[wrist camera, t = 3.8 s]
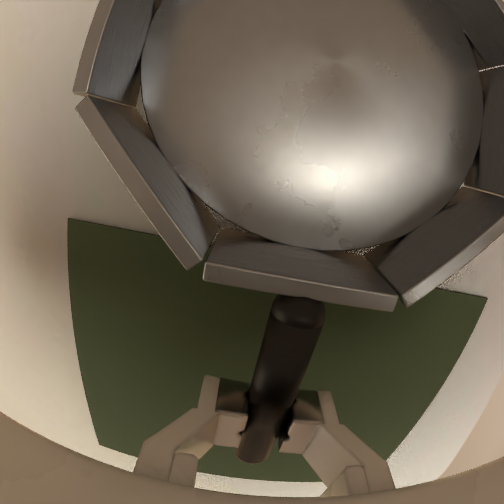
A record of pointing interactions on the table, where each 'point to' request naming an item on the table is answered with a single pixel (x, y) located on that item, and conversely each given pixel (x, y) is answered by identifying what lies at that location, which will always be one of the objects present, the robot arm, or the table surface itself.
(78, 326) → the mat
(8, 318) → the table surface
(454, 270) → the octagonal skillet
